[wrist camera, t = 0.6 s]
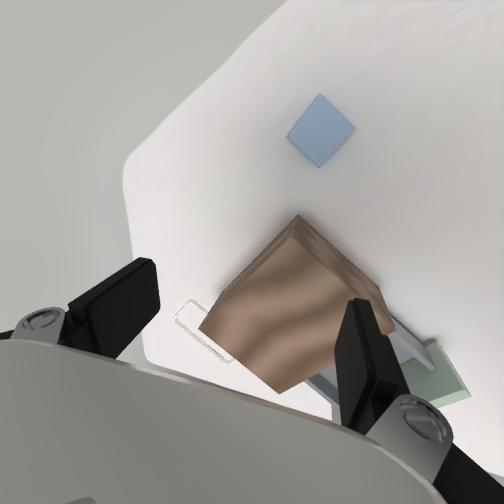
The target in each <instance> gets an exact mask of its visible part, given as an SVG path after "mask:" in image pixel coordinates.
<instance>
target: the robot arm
mask: <svg viewBox="0 0 504 504" xmlns="http://www.w3.org/2000/svg"><path fill="white" fill-rule="evenodd" d="M68 307H69V310H68V311H67V312H66V313H65V311H64V310H63V309H62V308H59V307H58V308H57V307H50V308H44V309H40V310H37V311H35V312H32V313H31V314H29V315H27V316H25V317H24V318H23V319H21V320H20V321H19V323H18V324H17V326H16V328H15V330H11V331H7V332H3V333H0V504H504V487H503V486H502V485H501V484H500V483H498V482H497V481H496V480H495V479H494V478H492V477H491V476H490V475H489V474H488V473H487V472H486V471H485V470H483V469H482V468H481V467H480V466H479V465H478V464H477V463H475V462H474V461H473V460H472V459H471V458H470V457H468V456H467V455H466V454H465V453H464V452H463V451H462V450H460V449H459V448H458V447H457V446H456V445H455V444H454V443H453V437H454V436H453V432H452V428H451V426H450V424H449V423H448V421H447V419H446V418H445V417H444V416H443V414H442V413H441V412H440V411H439V410H438V409H437V408H435V407H434V406H433V405H432V404H430V403H429V402H427V401H426V400H424V399H422V398H420V397H417V396H415V395H411V393H410V390H409V387H408V385H407V382H406V380H405V377H404V375H403V372H402V369H401V367H400V364H399V362H398V359H397V357H396V354H395V351H394V349H393V346H392V344H391V341H390V339H389V337H388V336H387V335H384V334H381V331H380V328H379V325H378V323H377V320H376V317H375V314H374V311H373V309H372V306H371V303H370V301H369V300H366V299H361V298H356V297H355V298H354V299H353V300H349V301H348V304H347V307H346V311H345V314H344V317H343V320H342V324H341V327H340V330H339V333H338V337H337V340H336V343H335V348H334V356H335V366H336V376H337V386H338V396H339V406H340V416H341V425H339V424H336V423H333V422H330V421H327V420H325V419H322V418H319V417H315V416H312V415H309V414H305V413H302V412H299V411H296V410H292V409H289V408H286V407H283V406H279V405H276V404H272V403H269V402H265V401H262V400H258V399H255V398H251V397H248V396H244V395H241V394H237V393H234V392H230V391H227V390H223V389H220V388H216V387H213V386H209V385H205V384H202V383H199V382H195V381H191V380H188V379H184V378H181V377H177V376H174V375H170V374H166V373H163V372H159V371H156V370H152V369H148V368H145V367H141V366H137V365H134V364H130V363H127V362H123V361H119V360H116V358H117V357H118V356H119V355H120V354H121V352H122V351H123V350H124V349H125V348H126V347H127V346H128V345H129V344H130V343H131V342H132V340H133V339H134V338H135V337H136V336H137V335H138V334H139V333H140V332H141V331H142V330H143V328H144V327H145V326H146V325H147V324H148V323H149V322H150V321H151V320H152V319H153V318H154V316H155V315H156V314H157V313H158V312H159V310H160V297H159V289H158V280H157V272H156V265H155V263H153V261H152V260H151V259H148V258H142V257H139V258H137V259H136V260H134V261H133V262H131V263H130V264H128V265H127V266H125V267H123V268H122V269H121V270H119V271H117V272H116V273H115V274H113V275H111V276H110V277H108V278H107V279H105V280H104V281H102V282H101V283H99V284H98V285H96V286H94V287H93V288H91V289H90V290H88V291H87V292H85V293H84V294H82V295H81V296H79V297H78V298H76V299H75V300H73V301H72V302H70V303H69V304H68Z"/></svg>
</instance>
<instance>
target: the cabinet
mask: <svg viewBox="0 0 504 504" xmlns="http://www.w3.org/2000/svg"><path fill="white" fill-rule="evenodd" d="M355 297H356V298H361V299H366V300H369V301H370V303H371V306H372V309H373V311H374V314H375V317H376V320H377V323H378V325H379V328H380V331H381V334H384V335H389V334H390V333H392V332H394V331H396V328H395V325H394V323H393V321H392V318H391V316H390V313H389V311H388V309H387V306H386V304H385V301H384V299H383V296H382V294H381V292H380V289H379V287H378V286H377V285H375V284H374V283H373V282H372V281H371V280H370V279H369V278H368V277H367V276H365V275H364V274H363V273H362V272H361V271H360V270H359V269H358V268H357V267H355V266H354V265H353V264H352V263H351V262H350V261H349V260H348V259H347V258H345V257H344V256H343V255H342V254H341V253H340V252H339V251H338V250H337V249H335V248H334V247H333V246H332V245H331V244H330V243H329V242H328V241H327V240H325V239H324V238H323V237H322V236H321V235H320V234H319V233H318V232H317V231H315V230H314V229H313V228H312V227H311V226H310V225H309V224H308V223H307V222H306V221H304V220H303V219H302V218H301V217H300V216H299V215H297V216H296V218H295V219H294V220H293V221H292V222H291V223H290V224H289V225H288V226H287V227H286V228H285V229H284V230H283V231H282V232H281V233H280V234H279V235H278V236H277V237H276V238H275V239H274V240H273V241H272V242H271V243H270V244H269V245H268V246H267V247H266V248H265V249H264V250H263V251H262V252H261V253H260V254H259V255H258V257H257V258H256V259H255V260H254V261H253V262H252V263H251V264H250V265H249V266H248V267H247V268H246V269H245V270H244V271H243V272H242V273H241V274H240V275H239V276H238V277H237V278H236V279H235V280H234V281H233V282H232V283H231V284H230V285H229V286H228V287H227V288H226V289H225V290H224V291H223V292H222V293H221V295H220V296H219V298H218V299H217V301H216V302H215V304H214V305H213V307H212V308H211V310H210V311H209V313H208V314H207V316H206V317H205V319H204V320H203V322H202V323H201V325H200V326H199V328H198V329H199V330H200V331H201V332H203V333H204V334H205V335H206V336H208V337H209V338H210V339H211V340H213V341H214V342H215V343H216V344H218V345H219V346H220V347H221V348H222V349H224V350H225V351H226V352H227V353H229V354H230V355H231V356H232V357H234V358H235V359H236V360H237V361H239V362H240V363H241V364H242V365H243V366H245V367H246V368H247V369H248V370H250V371H251V372H252V373H253V374H255V375H256V376H257V377H258V378H260V379H261V380H262V381H263V382H265V383H266V384H267V385H268V386H269V387H271V388H272V389H273V390H274V391H276V392H277V393H278V394H281V393H283V392H285V391H286V390H288V389H290V388H292V387H294V386H296V385H297V384H299V383H301V382H303V381H305V380H306V379H308V378H310V377H312V376H314V375H316V374H317V373H319V372H321V371H323V370H325V369H327V368H328V367H330V366H332V365H334V364H335V356H334V348H335V343H336V340H337V337H338V333H339V330H340V327H341V324H342V320H343V317H344V314H345V311H346V307H347V304H348V301H349V300H353V299H354V298H355Z"/></svg>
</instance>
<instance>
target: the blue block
mask: <svg viewBox="0 0 504 504" xmlns="http://www.w3.org/2000/svg"><path fill="white" fill-rule="evenodd" d="M355 129H356V128H355V127H354V126H353V125H352V124H351V123H350V122H349V121H348V120H347V119H346V118H345V117H344V116H343V115H342V114H341V113H340V112H339V111H338V110H337V109H336V108H335V107H334V106H333V105H332V104H331V103H330V102H329V101H328V100H326V99H325V98H324V97H323V96H322V95H321V94H320V93H319V95H318V96H317V97H316V99H315V100H314V101H313V102H312V104H311V105H310V106H309V108H308V109H307V110H306V111H305V113H304V114H303V115H302V117H301V118H300V119H299V121H298V122H297V123H296V124H295V126H294V127H293V128H292V130H291V131H290V132H289V133H288V135H287V136H286V138H288V139H289V140H290V141H291V142H292V143H293V144H294V145H295V146H296V147H297V148H298V149H299V150H300V151H301V152H303V153H304V154H305V155H306V156H307V157H308V158H309V159H310V160H311V161H312V162H313V163H314V164H315V165H317V166H318V167H319V168H320V167H321V166H322V165H323V164H324V162H325V161H326V160H327V159H328V158H329V157H330V156H331V155H332V154H333V153H334V152H335V150H336V149H337V148H338V147H339V146H340V145H341V144H342V143H343V142H344V141H345V140H346V138H347V137H348V136H349V135H350V134H351V133H352V132H353V131H354V130H355Z"/></svg>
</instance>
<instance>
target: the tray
mask: <svg viewBox="0 0 504 504" xmlns="http://www.w3.org/2000/svg"><path fill="white" fill-rule="evenodd" d="M391 318H392V317H391ZM392 321H393V323H394V325H395V328H396V331H394V332H392V333H390V334H389V335H387V336H388V337H389V339H390V341H391V344H392V346H393V349H394V351H395V354H396V357H397V359H398V362H399V364H400V367H401V369H402V372H403V375H404V377H405V380H406V382H407V385H408V387H409V390H410V393H411V395H415V396H417V397H420V398H422V399H424V400H426V401H427V402H429V403H430V404H432V405H433V406H434V407H435V408H439V407H442V406H445V405H448V404H451V403H454V402H457V401H460V400H463V399H465V398H468V397H471V394H470V393H469V391H468V389H467V388H466V386H465V384H464V383H463V381H462V379H461V378H460V376H459V374H458V373H457V371H456V369H455V368H454V366H453V364H452V363H451V361H450V359H449V358H448V356H447V354H446V353H445V351H444V349H443V348H442V347H441V346H440V345H439V344H438V343H437V342H434V343H432V344H430V345H428V346H423V345H422V344H421V343H420V342H419V341H418V340H417V339H416V338H414V337H413V336H412V335H411V334H410V333H409V332H408V331H407V330H406V329H404V328H403V327H402V326H401V325H400V324H399V323H398V322H397V321H395V320H394V319H393V318H392ZM304 382H305V383H307V384H308V385H309V386H310V387H311V388H313V389H314V390H315V391H316V392H318V393H319V394H320V395H321V396H322V397H324V398H325V399H326V400H327V401H328V402H330V403H331V404H332V422H333V423H336V424H339V425H341V416H340V406H339V396H338V386H337V376H336V366H335V364H334V365H332V366H330V367H328V368H327V369H325V370H323V371H321V372H319V373H317V374H316V375H314V376H312V377H310V378H308V379H306V380H305V381H304Z"/></svg>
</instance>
